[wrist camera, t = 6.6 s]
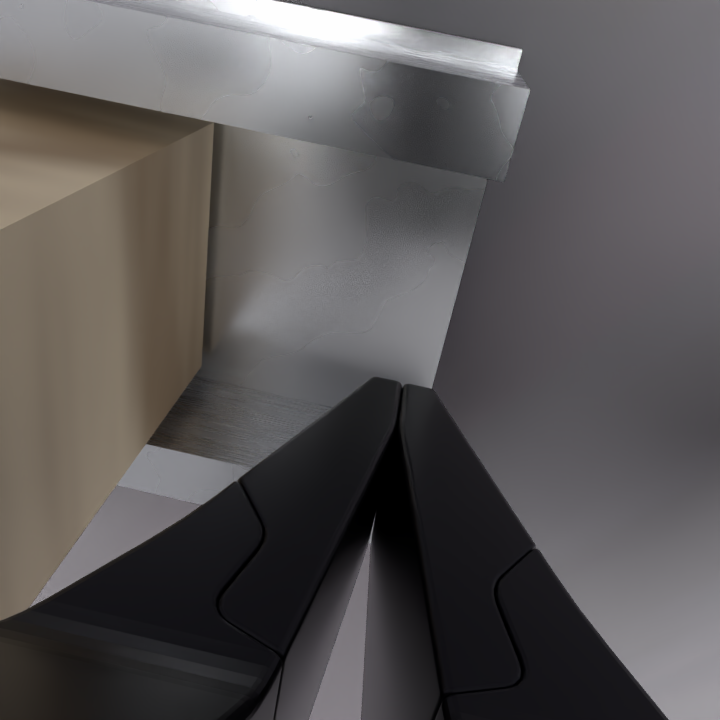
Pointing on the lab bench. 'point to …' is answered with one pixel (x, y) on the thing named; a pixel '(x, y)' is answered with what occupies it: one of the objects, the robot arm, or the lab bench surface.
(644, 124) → the lab bench surface
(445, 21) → the lab bench surface
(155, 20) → the chute
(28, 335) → the block
